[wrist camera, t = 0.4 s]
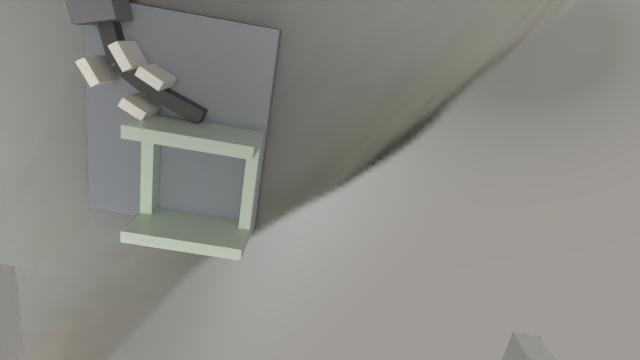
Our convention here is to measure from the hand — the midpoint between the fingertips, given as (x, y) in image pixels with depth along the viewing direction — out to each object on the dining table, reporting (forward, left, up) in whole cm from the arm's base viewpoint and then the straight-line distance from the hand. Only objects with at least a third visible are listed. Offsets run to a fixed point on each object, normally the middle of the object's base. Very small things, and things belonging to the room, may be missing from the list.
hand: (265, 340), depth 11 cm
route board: (+1, -11, -26) cm, 28 cm away
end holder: (+5, -8, -24) cm, 26 cm away
